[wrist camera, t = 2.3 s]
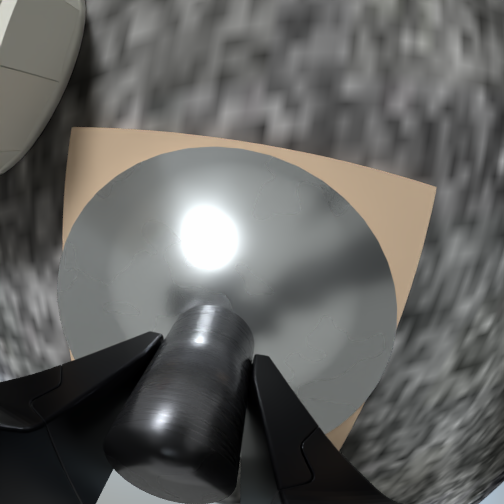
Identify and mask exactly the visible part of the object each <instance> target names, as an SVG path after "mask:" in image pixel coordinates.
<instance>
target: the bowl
mask: <svg viewBox="0 0 504 504" xmlns="http://www.w3.org/2000/svg"><path fill="white" fill-rule="evenodd" d="M85 14H86V6H85V0H0V175H1V174H3V173H5V172H6V171H8V170H9V169H10V168H12V167H13V166H14V165H15V164H16V163H17V162H18V161H19V160H21V159H22V158H23V156H24V155H25V154H26V153H27V152H28V151H29V149H30V148H31V147H32V146H33V144H34V143H35V142H36V140H37V139H38V137H39V136H40V135H41V133H42V132H43V130H44V128H45V127H46V125H47V123H48V122H49V120H50V119H51V117H52V115H53V113H54V111H55V109H56V107H57V105H58V104H59V102H60V100H61V97H62V95H63V93H64V91H65V89H66V87H67V84H68V82H69V79H70V77H71V74H72V71H73V69H74V66H75V63H76V60H77V57H78V54H79V50H80V46H81V42H82V38H83V33H84V26H85Z"/></svg>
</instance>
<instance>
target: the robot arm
mask: <svg viewBox="0 0 504 504" xmlns="http://www.w3.org/2000/svg"><path fill="white" fill-rule="evenodd" d="M163 341H164V337H163V335H162V334H160V333H156V332H152V331H149V332H146V333H144V334H141V335H139V336H136V337H133V338H131V339H128V340H126V341H123V342H121V343H118V344H115V345H113V346H110V347H108V348H105V349H102V350H100V351H97V352H94V353H92V354H89V355H86V356H84V357H81V358H78V359H75V360H73V361H70V362H67V363H65V364H62V366H61V365H59V366H56V367H53V368H51V369H48V370H45V371H42V372H38V373H35V374H32V375H28V376H24V377H20V378H16V379H12V380H8V381H4V382H0V504H96V502H97V500H98V498H99V496H100V494H101V492H102V490H103V488H104V486H105V484H106V482H107V480H108V478H109V476H110V474H111V472H112V471H113V469H114V468H113V467H112V466H111V464H110V463H109V462H108V460H107V458H106V456H105V453H104V449H103V442H104V439H105V437H106V436H107V434H108V432H109V430H110V429H111V427H112V425H113V424H114V422H115V420H116V418H117V417H118V415H119V413H120V412H121V410H122V408H123V407H124V405H125V403H126V402H127V400H128V398H129V397H130V395H131V393H132V392H133V390H134V388H135V387H136V385H137V383H138V382H139V380H140V378H141V377H142V375H143V373H144V372H145V370H146V368H147V367H148V365H149V363H150V362H151V360H152V359H153V357H154V355H155V354H156V352H157V350H158V349H159V347H160V346H161V344H162V342H163ZM240 504H402V503H398V502H396V501H393V500H391V499H389V498H388V497H386V496H385V495H383V494H382V493H381V492H380V491H379V490H377V489H376V488H375V487H374V486H373V485H372V484H371V483H370V482H369V481H368V480H367V479H366V478H365V477H364V476H363V475H362V474H361V473H360V472H359V471H358V470H357V469H356V468H355V467H354V466H353V465H352V464H351V463H350V462H349V461H348V460H347V459H346V458H345V457H344V456H343V455H342V454H341V453H340V452H339V451H338V450H337V448H336V447H335V446H334V445H333V443H332V442H331V441H330V440H329V439H328V437H327V436H326V435H325V433H324V432H323V431H322V429H321V428H320V427H319V426H318V424H317V423H316V421H315V420H314V419H313V417H312V416H311V415H310V413H309V412H308V410H307V409H306V408H305V406H304V405H303V403H302V402H301V401H300V399H299V398H298V397H297V395H296V394H295V392H294V391H293V390H292V388H291V387H290V385H289V384H288V382H287V381H286V380H285V378H284V377H283V375H282V374H281V373H280V371H279V370H278V368H277V367H276V365H275V364H274V363H273V361H272V360H271V358H270V357H269V356H266V355H260V354H255V355H254V358H253V363H252V370H251V378H250V385H249V393H248V401H247V409H246V417H245V424H244V432H243V439H242V447H241V490H240Z"/></svg>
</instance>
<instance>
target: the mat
mask: <svg viewBox="0 0 504 504" xmlns="http://www.w3.org/2000/svg"><path fill="white" fill-rule="evenodd" d="M199 147H227V148H239V149H245V150H250V151H254V152H258V153H263V154H267V155H271V156H273V157H276V158H279V159H281V160H284V161H286V162H289V163H291V164H294V165H296V166H298V167H300V168H302V169H304V170H305V171H307V172H309V173H310V174H312V175H314V176H316V177H317V178H319V179H321V180H322V181H324V182H325V183H326V184H327V185H329V186H330V187H331V188H333V189H334V190H335V191H336V192H337V193H339V194H340V195H341V196H342V197H344V198H345V199H346V200H347V201H348V202H349V203H350V205H351V206H352V207H353V208H354V209H355V210H356V211H357V212H358V213H359V214H360V216H361V217H362V218H363V219H364V220H365V222H366V223H367V225H368V226H369V228H370V229H371V231H372V232H373V234H374V235H375V237H376V238H377V240H378V242H379V244H380V246H381V248H382V250H383V253H384V255H385V257H386V259H387V261H388V264H389V267H390V271H391V274H392V278H393V281H394V285H395V293H396V301H397V326H398V323H399V321H400V318H401V315H402V312H403V309H404V307H405V304H406V301H407V298H408V295H409V292H410V289H411V286H412V282H413V279H414V276H415V273H416V269H417V266H418V263H419V259H420V255H421V252H422V248H423V244H424V241H425V237H426V233H427V229H428V225H429V221H430V216H431V212H432V207H433V203H434V198H435V193H436V188H437V187H434V186H431V185H428V184H425V183H422V182H418V181H415V180H412V179H409V178H405V177H402V176H398V175H395V174H391V173H388V172H384V171H380V170H377V169H373V168H369V167H365V166H361V165H357V164H353V163H349V162H345V161H341V160H336V159H332V158H328V157H323V156H319V155H314V154H309V153H304V152H299V151H294V150H289V149H284V148H279V147H273V146H268V145H262V144H256V143H250V142H243V141H237V140H230V139H223V138H215V137H208V136H200V135H191V134H182V133H172V132H161V131H149V130H136V129H119V128H95V127H72V129H71V136H70V143H69V151H68V159H67V168H66V178H65V191H64V208H63V249H64V245H65V242H66V240H67V238H68V235H69V233H70V231H71V228H72V226H73V224H74V223H75V221H76V219H77V218H78V216H79V215H80V213H81V211H82V210H83V208H84V207H85V206H86V205H87V203H88V202H89V201H90V200H91V199H92V198H93V197H94V195H95V194H96V193H97V192H98V191H99V190H100V189H101V188H102V187H104V186H105V185H106V184H107V183H108V182H110V181H111V180H112V179H113V178H114V177H116V176H117V175H119V174H120V173H122V172H124V171H125V170H127V169H129V168H130V167H132V166H134V165H136V164H137V163H140V162H142V161H145V160H147V159H150V158H152V157H155V156H157V155H160V154H164V153H168V152H173V151H177V150H182V149H186V148H199ZM396 329H397V327H396ZM70 355H71V361H73V360H75V359H74V357H73V355H72V353H71V350H70ZM364 403H365V402H364ZM364 403H363V404H362V405H361V406H360V407H359V408H358V409H357V411H356V412H355V413H354V414H353V415H351V416H350V417H349V418H348V419H347V420H345V421H344V422H343V423H342V424H340V425H339V426H338V427H336V428H335V429H333V430H332V431H330V432H329V433H327V434H325V435H326V436H327V437H328V439H329V440H330V441H331V442H332V443H333V445H334V446H335V447H336V448H337V450H338V451H339V450H340V448H341V447H342V445H343V443H344V441H345V440H346V438H347V436H348V434H349V432H350V430H351V428H352V427H353V425H354V423H355V421H356V419H357V417H358V415H359V413H360V411H361V409H362V407H363V405H364Z"/></svg>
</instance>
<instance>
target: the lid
mask: <svg viewBox="0 0 504 504" xmlns="http://www.w3.org/2000/svg"><path fill="white" fill-rule="evenodd" d="M57 291H58V307H59V314H60V320H61V324H62V328H63V331H64V335H65V338H66V341H67V343H68V346H69V348H70V350H71V353H72V355H73V357H74V359H78V358H81V357H84V356H86V355H89V354H92V353H94V352H97V351H100V350H102V349H105V348H108V347H110V346H113V345H115V344H118V343H121V342H123V341H126V340H128V339H131V338H133V337H136V336H139V335H141V334H144V333H146V332H149V331H152V332H156V333H160V334H162V335H163V337H164V341H163V342H162V344H161V346H160V347H159V349H158V350H157V352H156V354H155V355H154V357H153V359H152V360H151V362H150V363H149V365H148V367H147V368H146V370H145V372H144V373H143V375H142V377H141V378H140V380H139V382H138V383H137V385H136V387H135V388H134V390H133V392H132V393H131V395H130V397H129V398H128V400H127V402H126V403H125V405H124V407H123V408H122V410H121V412H120V413H119V415H118V417H117V418H116V420H115V422H114V424H113V425H112V427H111V429H110V430H109V432H108V434H107V436H106V437H105V439H104V442H103V449H104V453H105V456H106V458H107V460H108V462H109V463H110V464H111V466H112V467H113V468H114V469H115V471H116V472H117V473H118V474H120V475H121V476H122V477H123V478H124V479H125V480H127V481H128V482H130V483H131V484H133V485H134V486H136V487H138V488H139V489H141V490H143V491H145V492H147V493H149V494H151V495H154V496H157V497H159V498H162V499H166V500H169V501H174V502H179V503H185V504H206V503H213V502H217V501H220V500H223V499H225V498H227V497H228V496H229V495H231V494H232V493H233V491H234V490H235V488H236V483H237V476H238V469H239V462H240V457H241V447H242V439H243V432H244V424H245V417H246V409H247V401H248V393H249V385H250V378H251V370H252V363H253V358H254V355H255V354H260V355H266V356H269V357H270V358H271V360H272V361H273V363H274V364H275V365H276V367H277V368H278V370H279V371H280V373H281V374H282V375H283V377H284V378H285V380H286V381H287V382H288V384H289V385H290V387H291V388H292V390H293V391H294V392H295V394H296V395H297V397H298V398H299V399H300V401H301V402H302V403H303V405H304V406H305V408H306V409H307V410H308V412H309V413H310V415H311V416H312V417H313V419H314V420H315V421H316V423H317V424H318V426H319V427H320V428H321V429H322V431H323V432H324V433H325V434H327V433H329V432H330V431H332V430H333V429H335V428H336V427H338V426H339V425H340V424H342V423H343V422H344V421H345V420H347V419H348V418H349V417H350V416H351V415H353V414H354V413H355V412H356V411H357V409H358V408H359V407H360V406H361V405H362V404H363V403H364V402H365V401H366V400H367V398H368V397H369V395H370V394H371V393H372V391H373V390H374V389H375V387H376V386H377V384H378V382H379V380H380V378H381V376H382V375H383V373H384V371H385V369H386V366H387V364H388V361H389V358H390V355H391V352H392V349H393V344H394V339H395V334H396V327H397V301H396V293H395V285H394V281H393V278H392V274H391V271H390V267H389V264H388V261H387V259H386V257H385V255H384V253H383V250H382V248H381V246H380V244H379V242H378V240H377V238H376V237H375V235H374V234H373V232H372V231H371V229H370V228H369V226H368V225H367V223H366V222H365V220H364V219H363V218H362V217H361V216H360V214H359V213H358V212H357V211H356V210H355V209H354V208H353V207H352V206H351V205H350V203H349V202H348V201H347V200H346V199H345V198H344V197H342V196H341V195H340V194H339V193H337V192H336V191H335V190H334V189H333V188H331V187H330V186H329V185H327V184H326V183H325V182H324V181H322V180H321V179H319V178H317V177H316V176H314V175H312V174H310V173H309V172H307V171H305V170H304V169H302V168H300V167H298V166H296V165H294V164H291V163H289V162H286V161H284V160H281V159H279V158H276V157H273V156H271V155H267V154H263V153H258V152H254V151H250V150H245V149H239V148H227V147H199V148H186V149H182V150H177V151H173V152H168V153H164V154H160V155H157V156H155V157H152V158H150V159H147V160H145V161H142V162H140V163H137V164H136V165H134V166H132V167H130V168H129V169H127V170H125V171H124V172H122V173H120V174H119V175H117V176H116V177H114V178H113V179H112V180H111V181H110V182H108V183H107V184H106V185H105V186H104V187H102V188H101V189H100V190H99V191H98V192H97V193H96V194H95V195H94V197H93V198H92V199H91V200H90V201H89V202H88V203H87V205H86V206H85V207H84V208H83V210H82V211H81V213H80V215H79V216H78V218H77V219H76V221H75V223H74V224H73V226H72V228H71V231H70V233H69V235H68V238H67V240H66V242H65V245H64V249H63V252H62V256H61V260H60V265H59V273H58V281H57Z"/></svg>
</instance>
